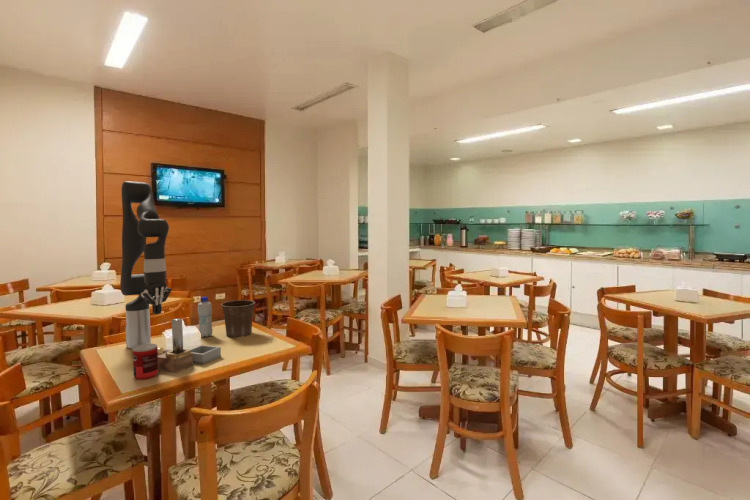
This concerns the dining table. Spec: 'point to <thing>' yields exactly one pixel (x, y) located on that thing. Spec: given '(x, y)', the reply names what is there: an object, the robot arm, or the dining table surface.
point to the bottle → (205, 317)
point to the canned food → (145, 361)
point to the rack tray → (205, 353)
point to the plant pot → (238, 317)
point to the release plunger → (160, 350)
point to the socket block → (175, 360)
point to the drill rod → (177, 336)
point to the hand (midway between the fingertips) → (157, 313)
